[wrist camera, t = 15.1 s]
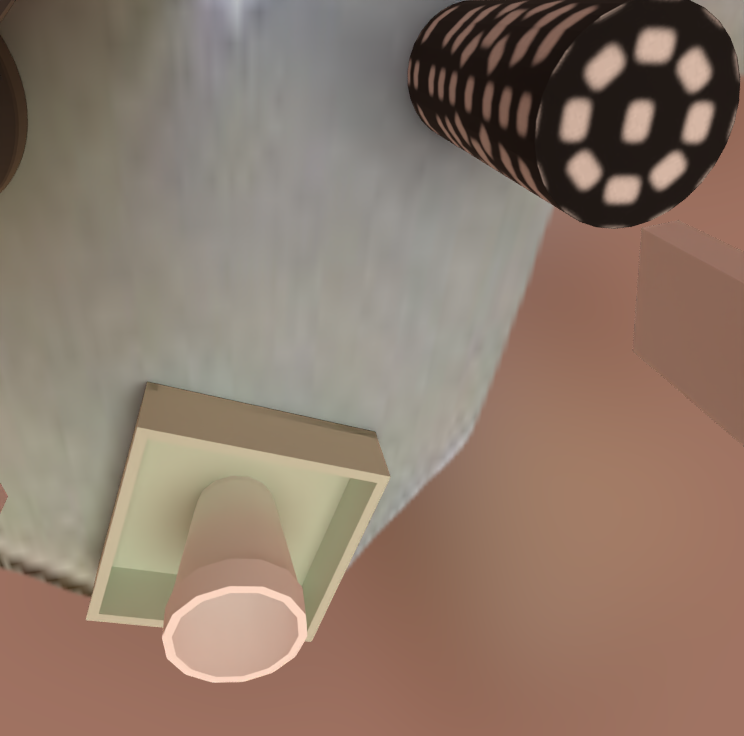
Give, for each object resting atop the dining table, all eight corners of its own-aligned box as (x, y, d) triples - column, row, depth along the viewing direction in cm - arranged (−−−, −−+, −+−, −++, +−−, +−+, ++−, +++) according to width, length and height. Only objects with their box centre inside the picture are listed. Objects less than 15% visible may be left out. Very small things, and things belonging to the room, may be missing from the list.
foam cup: (169, 467, 50) (152, 597, 39) (287, 453, 52) (303, 575, 41) (186, 554, 55) (175, 693, 44) (294, 540, 57) (309, 670, 46)
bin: (99, 562, 55) (85, 620, 50) (147, 381, 48) (137, 427, 43) (304, 588, 61) (311, 641, 56) (375, 431, 54) (390, 476, 49)
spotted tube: (520, 141, 44) (702, 227, 27) (403, 140, 43) (518, 230, 26) (540, 3, 40) (770, 1, 23) (412, -4, 39) (556, -12, 22)
